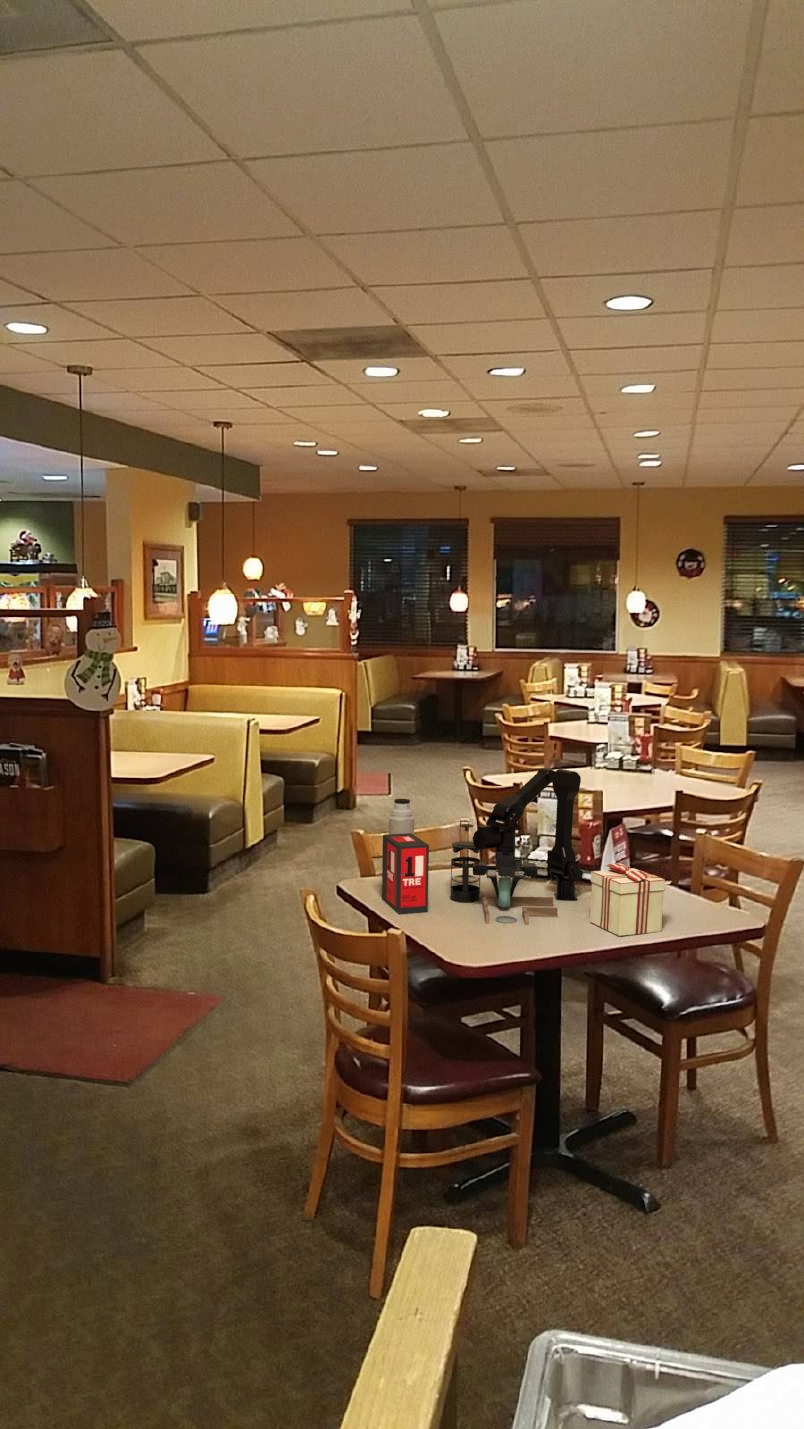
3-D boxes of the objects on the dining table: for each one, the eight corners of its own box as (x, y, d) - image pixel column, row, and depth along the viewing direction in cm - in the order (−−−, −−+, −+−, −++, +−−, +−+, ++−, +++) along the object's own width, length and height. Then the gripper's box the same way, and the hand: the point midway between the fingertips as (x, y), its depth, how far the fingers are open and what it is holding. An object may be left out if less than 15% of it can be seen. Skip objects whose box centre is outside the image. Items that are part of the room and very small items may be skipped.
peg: (497, 903, 325) (498, 876, 324) (509, 903, 325) (510, 877, 324) (498, 906, 321) (499, 880, 321) (510, 907, 321) (511, 880, 321)
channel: (482, 904, 330) (482, 895, 330) (552, 905, 329) (552, 897, 329) (485, 923, 310) (485, 915, 310) (560, 925, 309) (560, 916, 309)
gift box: (673, 930, 307) (676, 869, 305) (622, 939, 298) (624, 876, 296) (633, 914, 322) (635, 856, 320) (582, 922, 313) (584, 863, 311)
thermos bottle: (382, 885, 349) (384, 798, 346) (402, 881, 354) (403, 796, 351) (398, 891, 343) (400, 802, 340) (418, 887, 348) (419, 799, 345)
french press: (480, 904, 330) (482, 828, 327) (449, 903, 330) (451, 827, 328) (479, 893, 342) (481, 820, 339) (449, 892, 342) (451, 819, 339)
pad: (494, 916, 317) (495, 915, 317) (515, 917, 317) (515, 916, 317) (496, 922, 311) (496, 921, 311) (517, 923, 311) (517, 922, 311)
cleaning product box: (427, 912, 320) (428, 844, 318) (398, 914, 318) (399, 846, 316) (409, 897, 336) (410, 833, 334) (381, 899, 333) (382, 834, 331)
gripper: (474, 851, 314) (473, 904, 315) (540, 852, 313) (538, 906, 315) (473, 842, 325) (471, 894, 326) (536, 843, 324) (535, 895, 326)
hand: (504, 897), depth 323 cm, fingers closed on peg, 3 cm apart
